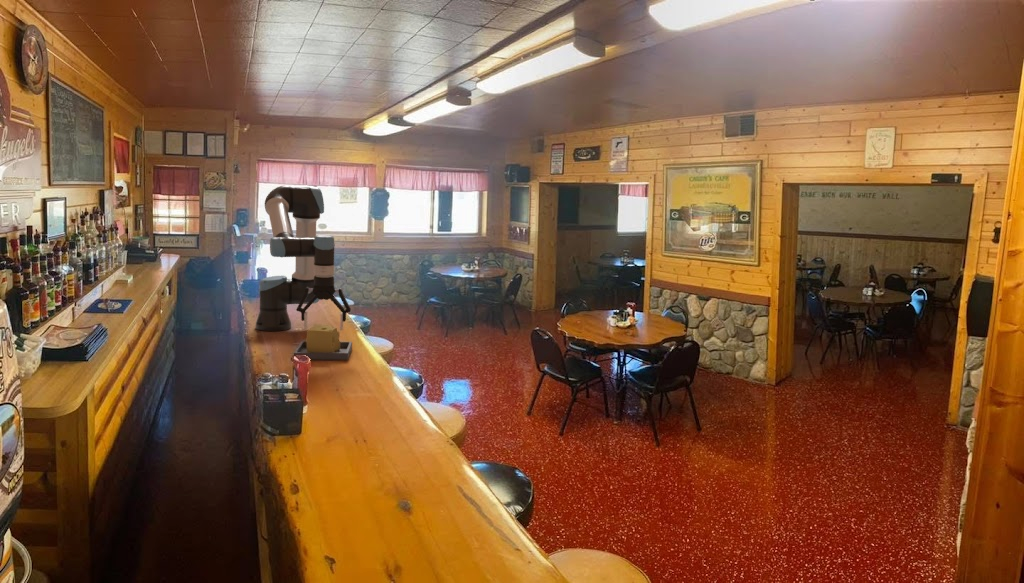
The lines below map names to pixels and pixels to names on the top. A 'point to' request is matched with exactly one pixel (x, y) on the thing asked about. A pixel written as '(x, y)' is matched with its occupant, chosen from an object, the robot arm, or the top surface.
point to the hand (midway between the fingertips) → (323, 329)
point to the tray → (325, 356)
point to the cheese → (323, 339)
